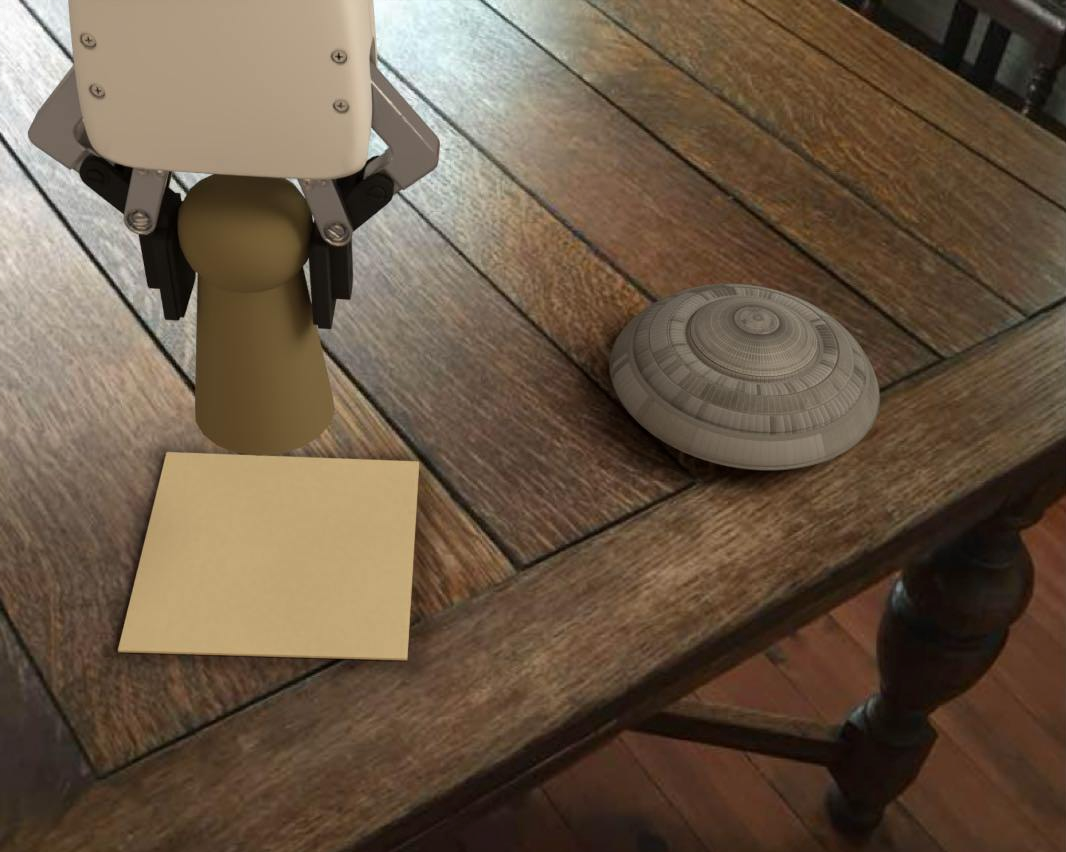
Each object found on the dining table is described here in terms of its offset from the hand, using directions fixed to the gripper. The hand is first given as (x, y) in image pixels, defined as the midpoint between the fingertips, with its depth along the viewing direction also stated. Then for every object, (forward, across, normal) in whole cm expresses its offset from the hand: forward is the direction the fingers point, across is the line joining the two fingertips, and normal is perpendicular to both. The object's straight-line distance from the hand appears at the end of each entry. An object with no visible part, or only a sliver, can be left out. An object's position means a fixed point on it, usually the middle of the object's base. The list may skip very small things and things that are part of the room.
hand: (253, 300), depth 55 cm
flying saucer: (+15, -24, -14) cm, 31 cm away
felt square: (+15, 0, 0) cm, 15 cm away
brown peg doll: (+6, 0, 0) cm, 6 cm away
